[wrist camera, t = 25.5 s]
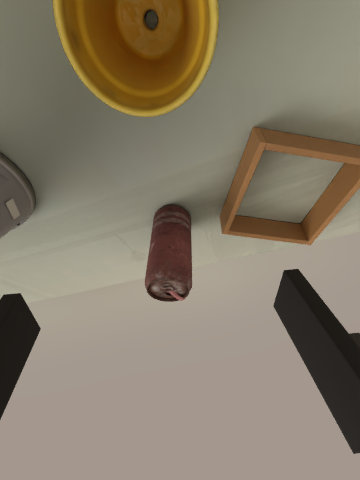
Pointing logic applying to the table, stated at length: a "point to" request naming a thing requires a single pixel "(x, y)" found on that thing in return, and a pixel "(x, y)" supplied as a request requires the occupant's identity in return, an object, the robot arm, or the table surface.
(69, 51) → the flower pot
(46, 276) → the table surface
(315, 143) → the wooden square frame
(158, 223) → the can
